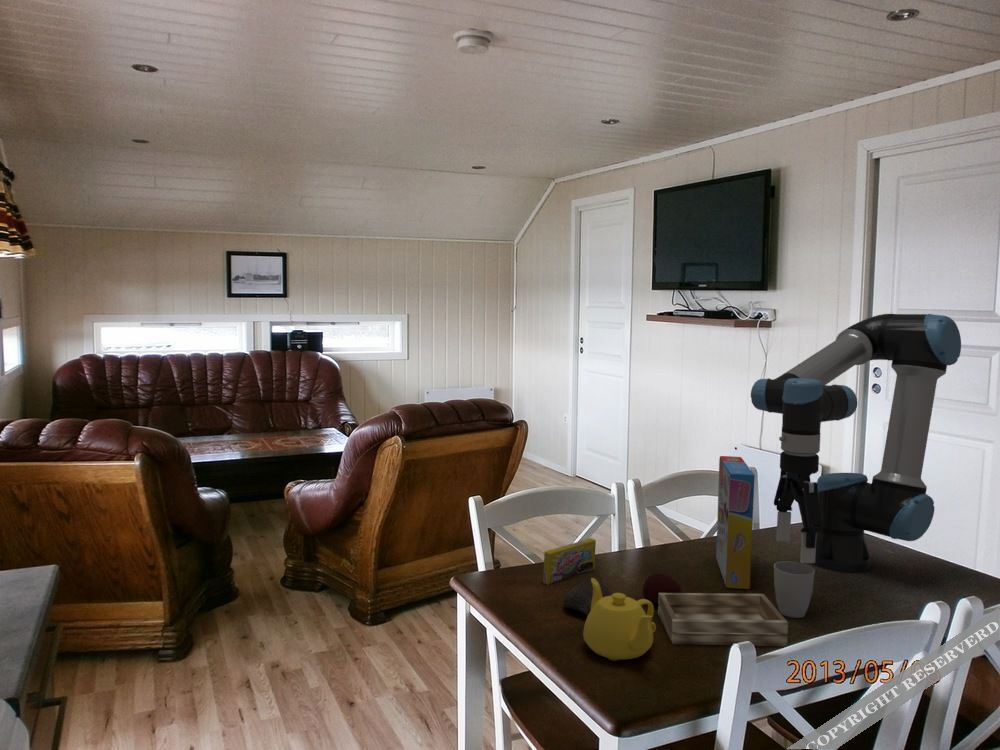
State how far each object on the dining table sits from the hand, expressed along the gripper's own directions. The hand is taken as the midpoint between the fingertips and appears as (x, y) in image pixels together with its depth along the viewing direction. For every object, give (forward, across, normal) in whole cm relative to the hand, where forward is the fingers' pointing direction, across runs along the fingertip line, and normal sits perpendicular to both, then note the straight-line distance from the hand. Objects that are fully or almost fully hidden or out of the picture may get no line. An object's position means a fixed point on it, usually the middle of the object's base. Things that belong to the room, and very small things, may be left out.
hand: (794, 551), depth 158 cm
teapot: (+14, +18, -39) cm, 45 cm away
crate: (+14, +9, -18) cm, 24 cm away
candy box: (+14, -19, -46) cm, 52 cm away
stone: (+15, -2, -46) cm, 49 cm away
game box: (+14, -23, -6) cm, 27 cm away
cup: (+14, 0, 0) cm, 14 cm away
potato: (+14, -4, -27) cm, 30 cm away
